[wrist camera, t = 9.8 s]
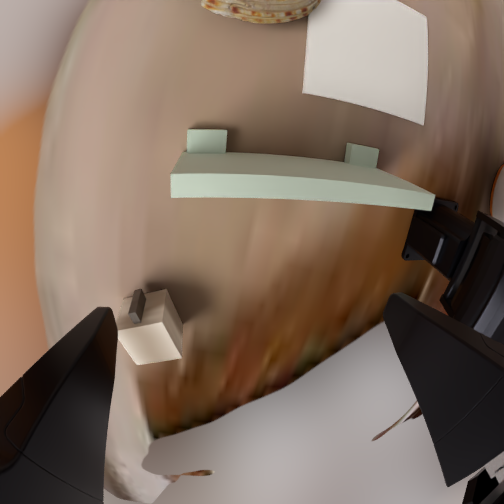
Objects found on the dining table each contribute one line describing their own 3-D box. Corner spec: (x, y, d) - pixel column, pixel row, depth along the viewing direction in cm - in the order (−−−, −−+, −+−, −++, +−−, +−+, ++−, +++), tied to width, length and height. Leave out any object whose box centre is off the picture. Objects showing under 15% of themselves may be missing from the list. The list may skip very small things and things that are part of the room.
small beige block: (162, 278, 21) (156, 311, 17) (182, 323, 23) (181, 357, 20) (118, 288, 20) (107, 321, 17) (142, 331, 23) (137, 365, 19)
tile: (424, 17, 13) (426, 17, 12) (421, 125, 18) (423, 125, 17) (310, -31, 10) (311, -33, 10) (302, 93, 16) (303, 92, 15)
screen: (376, 148, 18) (440, 170, 12) (367, 196, 20) (424, 234, 14) (183, 129, 16) (170, 137, 10) (182, 188, 17) (172, 231, 11)
